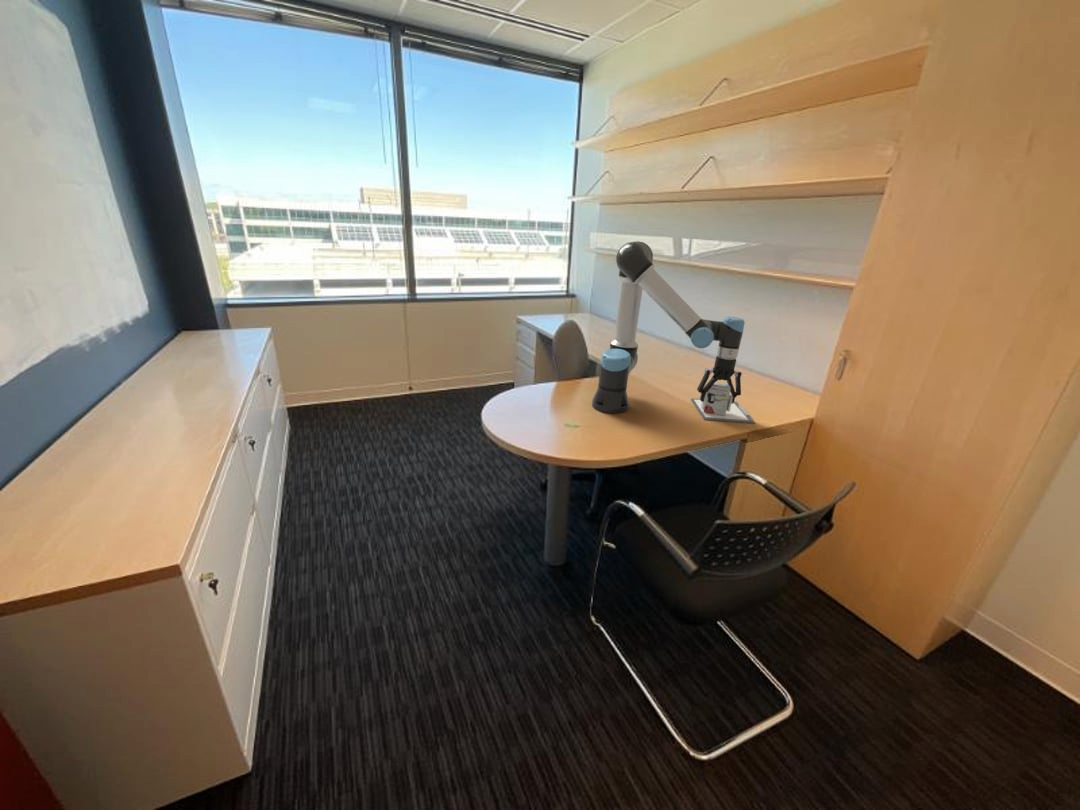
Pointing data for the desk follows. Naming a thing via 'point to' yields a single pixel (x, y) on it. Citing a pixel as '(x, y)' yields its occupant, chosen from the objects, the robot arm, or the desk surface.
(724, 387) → the ink box
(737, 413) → the whiteboard
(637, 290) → the robot arm
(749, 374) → the desk surface
